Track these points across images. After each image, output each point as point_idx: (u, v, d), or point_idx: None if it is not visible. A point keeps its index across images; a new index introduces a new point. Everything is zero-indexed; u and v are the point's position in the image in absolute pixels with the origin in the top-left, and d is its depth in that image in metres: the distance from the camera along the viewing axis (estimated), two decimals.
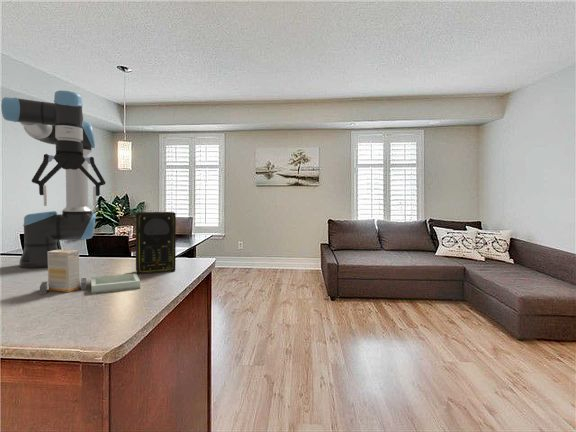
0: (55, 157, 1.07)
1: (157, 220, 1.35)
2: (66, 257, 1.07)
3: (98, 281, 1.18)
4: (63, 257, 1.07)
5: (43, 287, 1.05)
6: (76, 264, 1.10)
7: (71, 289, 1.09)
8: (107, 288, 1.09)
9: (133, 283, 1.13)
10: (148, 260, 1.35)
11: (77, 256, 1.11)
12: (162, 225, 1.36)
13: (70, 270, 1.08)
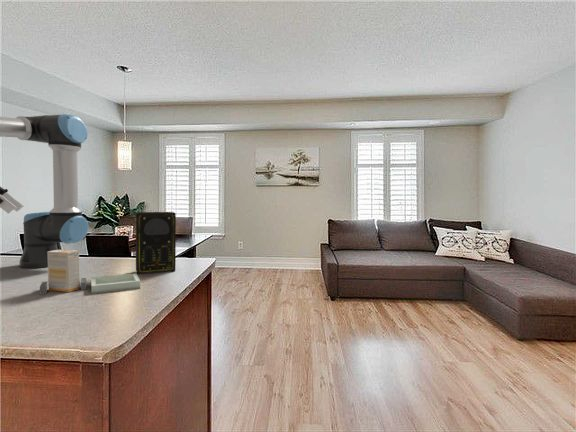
0: None
1: (157, 220, 1.35)
2: (66, 257, 1.07)
3: (98, 281, 1.18)
4: (63, 257, 1.07)
5: (43, 287, 1.05)
6: (76, 264, 1.11)
7: (71, 289, 1.09)
8: (107, 288, 1.09)
9: (133, 283, 1.13)
10: (148, 260, 1.35)
11: (77, 256, 1.11)
12: (162, 225, 1.36)
13: (70, 270, 1.08)
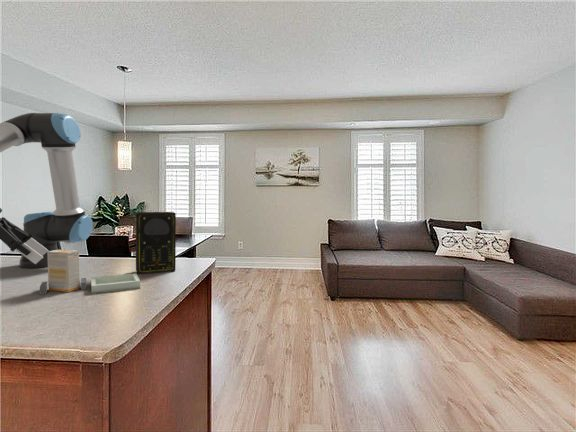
0: None
1: (157, 220, 1.35)
2: (66, 257, 1.07)
3: (98, 281, 1.18)
4: (63, 257, 1.07)
5: (43, 287, 1.05)
6: (76, 264, 1.10)
7: (71, 289, 1.09)
8: (107, 288, 1.09)
9: (133, 283, 1.13)
10: (148, 260, 1.35)
11: (77, 256, 1.11)
12: (162, 225, 1.36)
13: (70, 270, 1.08)
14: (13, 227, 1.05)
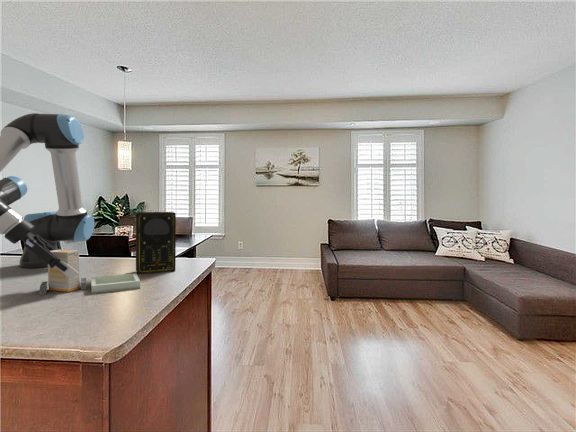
0: None
1: (157, 220, 1.35)
2: (66, 257, 1.07)
3: (98, 281, 1.18)
4: (63, 257, 1.07)
5: (43, 287, 1.05)
6: (76, 264, 1.10)
7: (71, 289, 1.09)
8: (107, 288, 1.09)
9: (133, 283, 1.13)
10: (148, 260, 1.35)
11: (77, 256, 1.11)
12: (162, 225, 1.36)
13: None
14: (45, 243, 1.09)
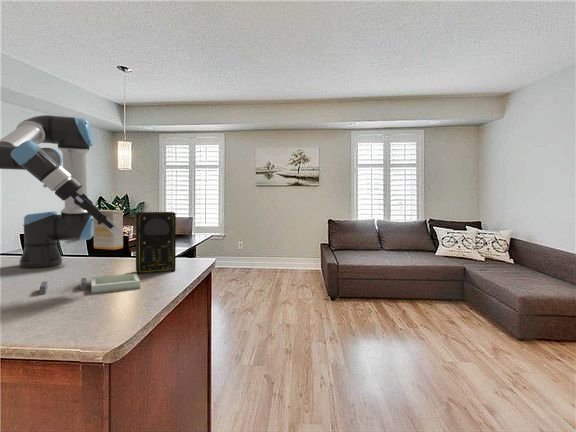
0: None
1: (157, 220, 1.35)
2: (111, 216, 1.10)
3: (98, 281, 1.18)
4: (109, 215, 1.10)
5: (43, 287, 1.05)
6: (120, 223, 1.13)
7: (116, 247, 1.12)
8: (107, 288, 1.09)
9: (133, 283, 1.13)
10: (148, 260, 1.35)
11: (121, 216, 1.14)
12: (162, 225, 1.36)
13: None
14: None
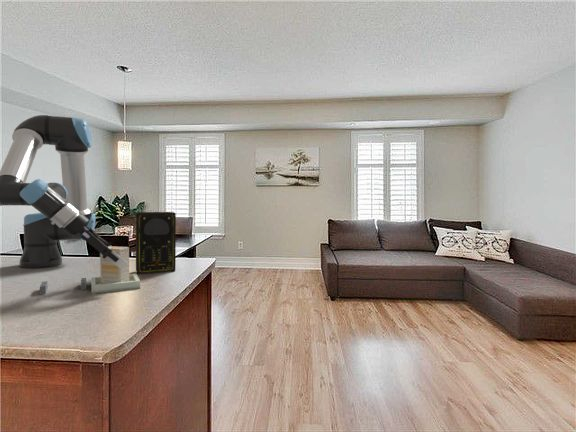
0: None
1: (157, 220, 1.35)
2: (118, 253, 1.13)
3: (98, 281, 1.18)
4: (116, 253, 1.13)
5: (43, 287, 1.05)
6: (127, 260, 1.16)
7: None
8: (107, 288, 1.09)
9: (133, 283, 1.13)
10: (148, 260, 1.35)
11: (127, 252, 1.16)
12: (162, 225, 1.36)
13: None
14: (97, 236, 1.15)
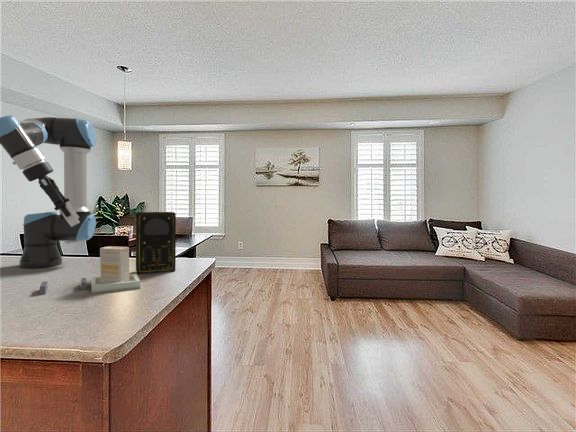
0: None
1: (157, 220, 1.35)
2: (118, 253, 1.13)
3: (98, 281, 1.18)
4: (116, 253, 1.13)
5: (43, 287, 1.05)
6: (127, 260, 1.16)
7: None
8: (107, 288, 1.09)
9: (133, 283, 1.13)
10: (148, 260, 1.35)
11: (127, 252, 1.16)
12: (162, 225, 1.36)
13: (122, 265, 1.14)
14: None
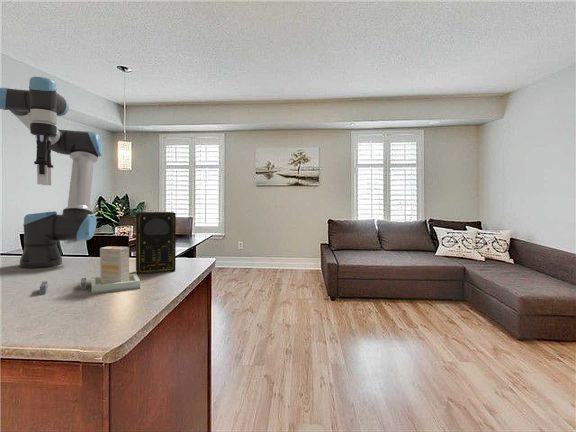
0: None
1: (157, 220, 1.35)
2: (118, 253, 1.13)
3: (98, 281, 1.18)
4: (116, 253, 1.13)
5: (43, 287, 1.05)
6: (127, 260, 1.16)
7: None
8: (107, 288, 1.09)
9: (133, 283, 1.13)
10: (148, 260, 1.35)
11: (127, 252, 1.16)
12: (162, 225, 1.36)
13: (122, 265, 1.14)
14: (49, 151, 1.20)
